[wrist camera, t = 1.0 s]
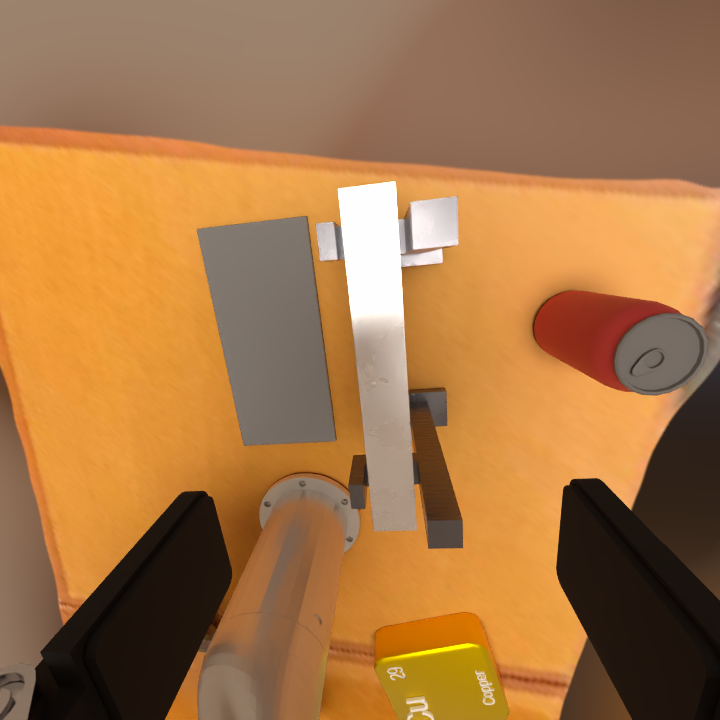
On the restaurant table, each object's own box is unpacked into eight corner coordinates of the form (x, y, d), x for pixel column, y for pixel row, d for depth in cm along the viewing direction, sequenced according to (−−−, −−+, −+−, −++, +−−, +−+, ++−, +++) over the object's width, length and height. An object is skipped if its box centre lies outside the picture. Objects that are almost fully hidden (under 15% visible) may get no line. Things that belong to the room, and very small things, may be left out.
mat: (336, 438, 38) (335, 441, 38) (245, 443, 40) (243, 445, 39) (307, 216, 32) (306, 216, 31) (199, 229, 33) (196, 229, 33)
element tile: (502, 682, 48) (514, 726, 44) (403, 697, 51) (405, 740, 46) (476, 607, 44) (486, 646, 40) (370, 626, 47) (369, 666, 42)
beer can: (517, 322, 33) (586, 353, 22) (575, 275, 32) (683, 282, 20) (557, 368, 34) (643, 421, 23) (615, 325, 33) (739, 359, 21)
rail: (413, 500, 26) (416, 530, 23) (375, 501, 26) (374, 531, 23) (394, 193, 20) (395, 181, 17) (344, 199, 20) (338, 188, 17)
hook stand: (445, 421, 37) (497, 561, 20) (365, 425, 38) (347, 562, 21) (439, 218, 31) (506, 164, 14) (344, 229, 32) (296, 190, 15)
